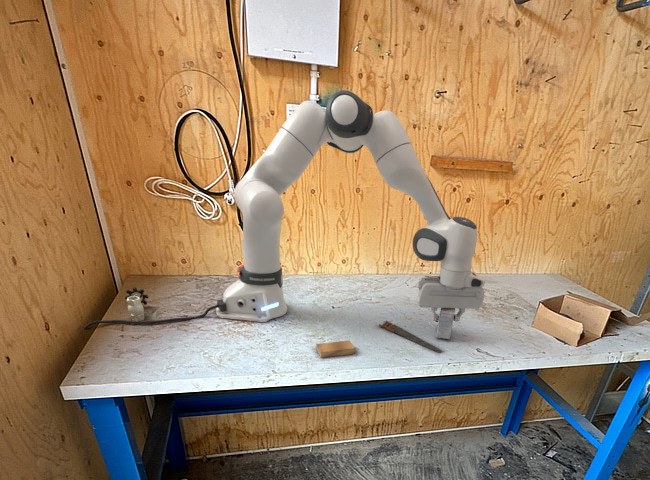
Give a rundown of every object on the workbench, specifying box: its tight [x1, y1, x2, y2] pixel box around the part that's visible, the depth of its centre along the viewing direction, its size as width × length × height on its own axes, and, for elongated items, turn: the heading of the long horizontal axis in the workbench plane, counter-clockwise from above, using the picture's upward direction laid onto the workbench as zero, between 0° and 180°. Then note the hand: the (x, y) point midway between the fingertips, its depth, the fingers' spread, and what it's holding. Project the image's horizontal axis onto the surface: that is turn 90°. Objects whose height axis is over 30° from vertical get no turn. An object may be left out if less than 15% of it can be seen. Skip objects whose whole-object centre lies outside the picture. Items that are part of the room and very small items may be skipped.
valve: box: [124, 286, 149, 321], centre depth 132 cm, size 7×7×12 cm
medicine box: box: [435, 308, 456, 340], centre depth 135 cm, size 8×4×9 cm, turn 168°
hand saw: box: [378, 320, 443, 353], centre depth 135 cm, size 24×5×1 cm, turn 48°
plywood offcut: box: [315, 340, 356, 359], centre depth 123 cm, size 10×5×2 cm, turn 112°
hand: (446, 320), depth 135 cm, fingers closed on medicine box, 5 cm apart
